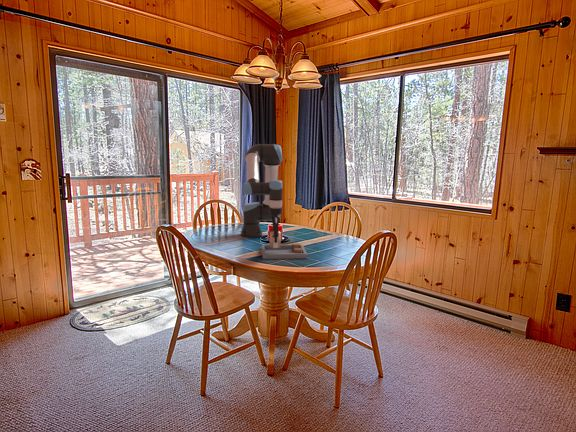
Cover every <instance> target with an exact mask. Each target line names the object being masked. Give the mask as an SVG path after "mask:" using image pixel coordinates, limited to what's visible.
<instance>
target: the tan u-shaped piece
mask: <svg viewBox="0 0 576 432" xmlns="http://www.w3.org/2000/svg"><path fill="white" fill-rule="evenodd" d="M281 234H282V233H281V231H280V230H278V248H280V247H281V245H282V243H281V239H282V238H281V237H282V235H281ZM275 235H277V234H275ZM272 236H274V231H272V230H269V245H270V248H273V237H272Z"/></svg>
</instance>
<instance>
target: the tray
mask: <svg viewBox="0 0 576 432" xmlns="http://www.w3.org/2000/svg"><path fill="white" fill-rule="evenodd" d="M292 244H293V243H291V244H281V247H280V248H270V244H262V245H261V254H262V259H263V260H276V259H278V260H279V259H280V260H282V259H284V260H286V259H287V260H289V259H308V252H307V251H306V249H305V247H304V245H303V244H301V243H299V244H300V248H302V253H294V252H293V251H292Z"/></svg>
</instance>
